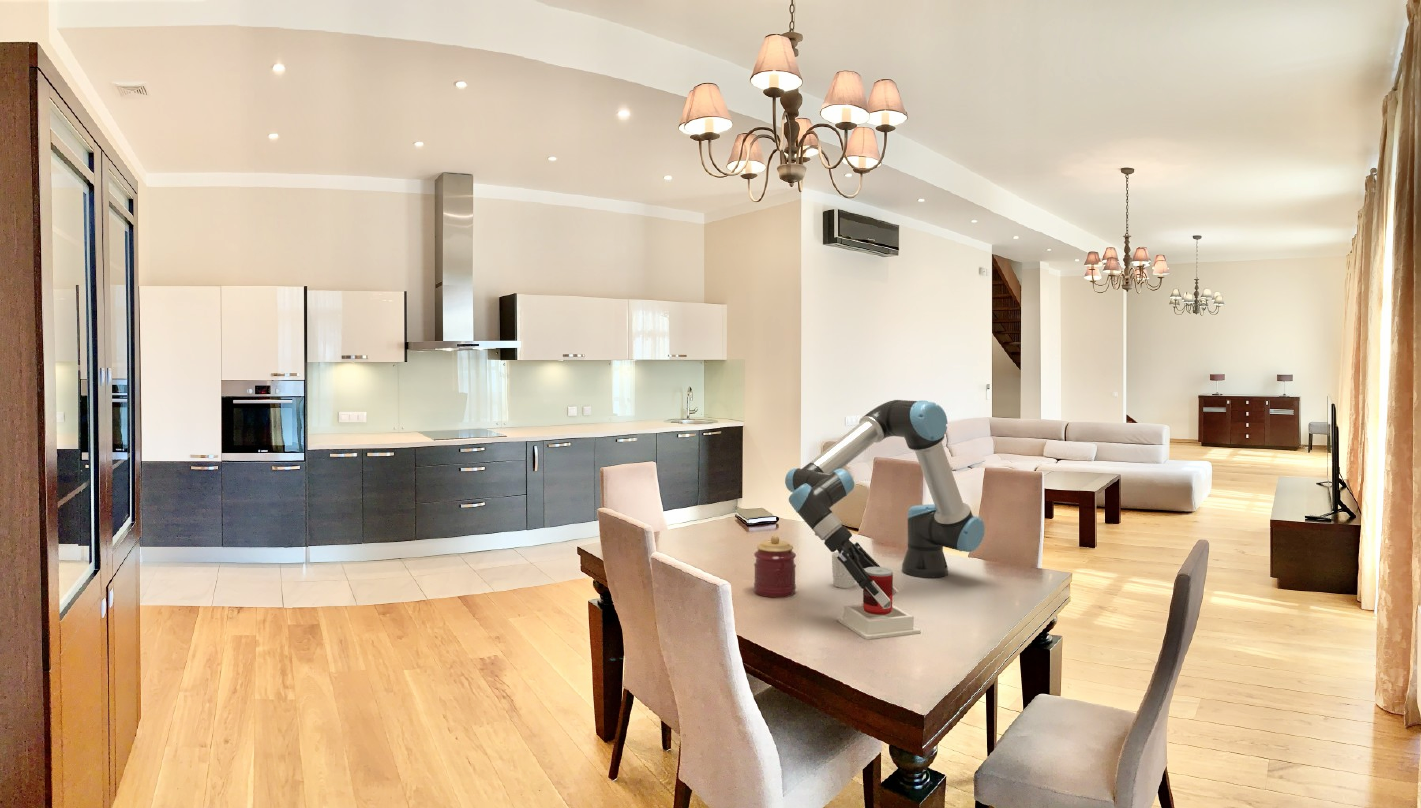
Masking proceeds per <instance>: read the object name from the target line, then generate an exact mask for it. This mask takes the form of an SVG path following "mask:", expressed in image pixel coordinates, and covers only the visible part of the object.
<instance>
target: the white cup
mask: <svg viewBox="0 0 1421 808" xmlns="http://www.w3.org/2000/svg"><path fill="white" fill-rule="evenodd" d="M839 555H840V554H839V552H838V551H834V552H831V566H832V567H831V569H832V578H833V579H832V583H833V584H832V585H833V586H834V587H835V588H840V589H851V588H854V587H855V585H856V583H855V582H856V581H855V579H854V578H853V577H852V575H851V574H850V573H849V572H848V570H847V569H846V568H845V566H844V565H843V564H842V563H841V562H840V561H839V560H838V558H837V557H838V556H839Z"/></svg>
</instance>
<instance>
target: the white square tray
mask: <svg viewBox="0 0 1421 808" xmlns="http://www.w3.org/2000/svg"><path fill="white" fill-rule="evenodd" d="M914 617H915V616H914V615H912V614H910V613H908V612H907V611H905V610H903V609H901V608H899V607H897V606H896V605H894V604H892V611H891V612H890V613H889V614H885V615H874V614H870V613H867V612H865V611H864V608H863V603H862V604H860V603H859V604H852V605H850V604H849V605H844V606H843V616H838V617H836V618H837V619H836V620H837V622H839V623H841V624H842V625H844V626H845V627H847V628H848V629H850V630H852V631H853V632H854V633H855V634H857V635H859V636H860V637H862V638H863V639H864V640H875V639H876V640H877V639H884V638H891V637H901V636H909V635H916V634H921V629H919V628H917V627H915V626H914V622H915V621H914Z"/></svg>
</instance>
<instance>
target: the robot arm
mask: <svg viewBox="0 0 1421 808" xmlns="http://www.w3.org/2000/svg"><path fill="white" fill-rule="evenodd" d="M947 424H948V416H947V414H946V412H945V410H944V409H943V407H942V406H941V405H939V404H938V403H937V402H933V401H928V400H903V399H893V400H888V401H886V402H884V403H881V404H880V405H878V406H877V407H875V408H873V409H871V410H870V411H869V412H867V413H866V414H865V415H864V416H862V417H861V418H860V419H859V422H858V424H857V425H855V427H853V428H852V429H851V430H849V431H848V432H847V433H845V434H844V435H843V436H842V437H841V438H839V439H838V440H837V441H836V442H834V443H833V444H832V445H830V446H829V447H828V448H827V449H825V450H824V451H823V452H821V453H820V454H819V455H818V456H816V457H815V458H814V459H813V460H811V461H810V462H809V463H808V464H806V465H805V466H803V467H802V468H800V467H797V468H792V469H790V470H789V471H788V472H787V473H786V475H785V480H784V483H785V486H786V489H787V490H788V491H789V492H790V493H791V494H790V496H789V497H788V503H789V504H790V506H791V507H792V508H793V509H794V511H795V512H796V513H797V514H798V515H799V516H800V517H801V519H802V520H803V521H804V522H805V523H806V524H807V525H808V527H809V528H811V530H812V531H813V532H814V535H815V537H818V538H819V539H820V540H821V541H824V542H823V544H824V546H826V547H827V549H828V550H829V551H830V553H834V552H839V554H840V555H839V556H838V557H837V558H838V560H839V561H840V562H841V563H842V564H843V565H844V566H845V568H846V569H847V570H848V572H849V573H850V574H851V575H852V577H853V578H854V579H855V582H856V583H857V585H858V586H859V587H860V588H861V590H863V589H864V588H865V587H866V589H867V590H868V591H869V592H870V593H871V594H872V596H873V597H874V598H875V599H876V600H877V601H878V603H879V604H880V605H881V606H882V607H883V606H884V605H885V604H887V603H888V602H889V601H890V599H889V598H888V597H887V596H886V594H885V593H884V592H883V591H882V590H881V589H880V588H879V586H878V585H877V584H876V583H875V582H874V581H871V579H870V578H869V576H868V575H867V573H866V571H865V570H864V569H865V568H868V567H881V565H879V564H878V562H877V561H876V560H875V559H874V558H873V557H872V556H870V554H869V553H867V551H865V550H864V549H863V547H862V546H861V545H860V543H859V542H857V541H856V542H855V543H853V542H852V541H851V540H850V539H851V538H852V537H853V534H852V532H851V531H850V530H849V529H848V528H847V527H846V526H845V525H842V524H843V522H842V520H840V518H839V517H838V516H837V515H836V514H835V512H834V511H832V510H831V508H832V507H833V506H835V504H837V503H838V502H840V501H841V500H842V499H844V498H845V497H847V496H848V495H849V494H850V493H851V491H853V490H854V488H855V481H854V478H853V476H852V475H851V473H850V472H848V470H846V469H844V467H846V466H847V465H848V464H850V463H851V462H852V461H853V460H854V459H856V458H857V457H858V456H859V455H861V454H862V453H863V452H865V451H866V450H867V449H868V448H869V447H871V446H872V445H873V444H875V443H876V444H877V443H878V444H879V443H881V442H882V441H883V440H884V439H887V438H890V437H900V438H904V440H905V443H906V446H907V448H908V449H909V450H912V451H913V452H915V456H916V458H917V461H918V464H919V466H920V469H921V471H922V474H923V477H924V480H925V482H926V485H927V488H928V491H929V494H930V496H931V498H932V501H933V502H932V503H933V504H918V505H917V504H916V505H912V506H911V507H909V509H908V511H907V512H908V513H907V519H906V520H907V550H906V552H905V555H904V558H903V561H902V563H901V571H902V572H903V573H904V574H906V575H908V576H912V577H919V578H925V579H927V578H929V579H931V578H935V579H936V578H943V577H946V576H948V574H949V567H948V563H947V561H946V560H947V559H946V556H945V554H944V550H943V549H944V548H949V549H952V550H955V551H959V552H966V553H971V552H974V551H976V550H977V549H978V548H979V547H980V546H981V544H982V541H983V539H984V536H985V532H986V531H985V529H986V528H985V522H984V521H983V519H982V518H980V517H978V516H974V515H973V512H972V509H971V507H970V506H969V504H967V503H965V502H963V499H962V496H961V493H960V490H959V487H958V485H957V482H956V480H955V479H956V478H955V477H954V473H953V471H952V468H951V465H950V462H949V459H948V456H947V453H946V451H945V448H944V446H943V443H942V442H943V440H944V439H945V434H946V433H947V430H948V426H947ZM898 592H899V590H898V589H897V588H896V587H895V586H894V585H893V595H892V598H893V597H894V596H895V595H897V593H898Z"/></svg>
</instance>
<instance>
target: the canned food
mask: <svg viewBox="0 0 1421 808" xmlns="http://www.w3.org/2000/svg"><path fill="white" fill-rule="evenodd" d="M864 570H865V571H866V573H867V575H868V576H869V578H870V579H871V581H874V582H875V583H876V584H877V585H878V586H879V588H880V589H881V590H882V591H883V592H884V593H885V594H886V596H887V597H888V598H889V599H890V601H889V602H888V603H887V604H885V605H884V606H883V607H882V606H881V605H880V604H879V603H878V601H877V600H876V599H875V598H874V597H873V596H872V594H871V593H870V592H869V591H868V590H867V589H866V587H865V588H864V589H862V590H863V593H862V596H863V600H862V604H863V608H864V611H865V612H867V613H870V614H874V615H885V614H889V613H890V612H891V611H892V605H893V597H892V595H893V586H894V583H893V581H894V577H893V576H894V573H893V569H891V568H888V567H884V566H880V567H868V568H865V569H864Z"/></svg>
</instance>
